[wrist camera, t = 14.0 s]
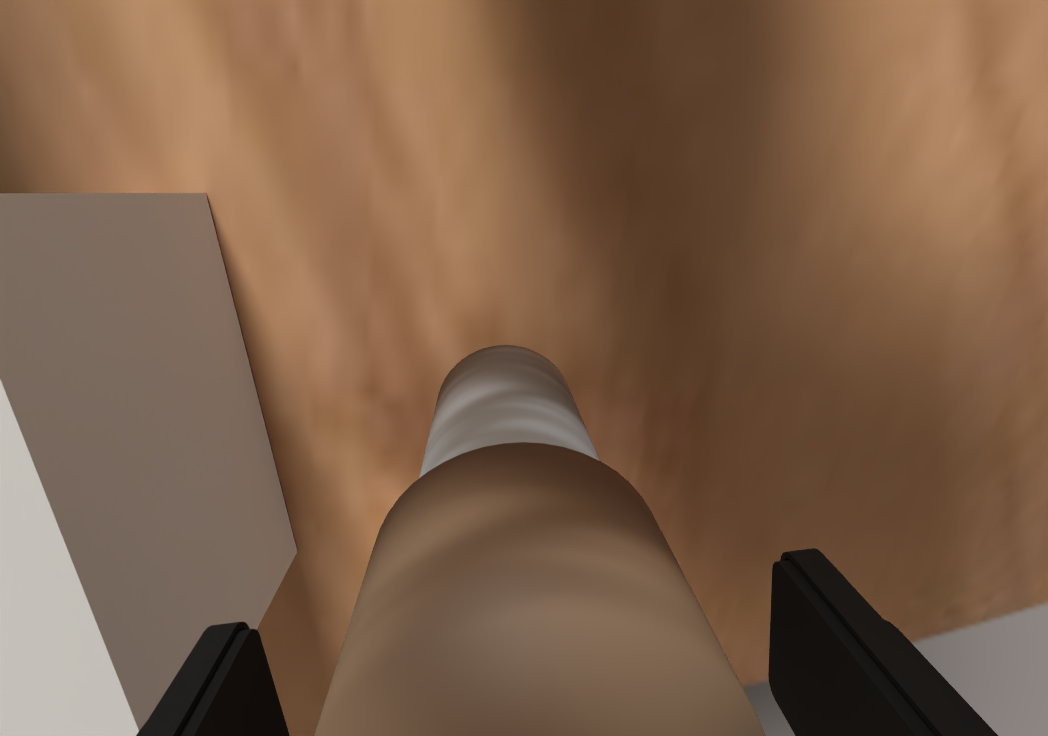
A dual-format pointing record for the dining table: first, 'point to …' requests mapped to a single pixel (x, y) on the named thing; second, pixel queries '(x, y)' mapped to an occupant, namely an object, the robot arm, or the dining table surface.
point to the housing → (123, 458)
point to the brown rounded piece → (526, 587)
